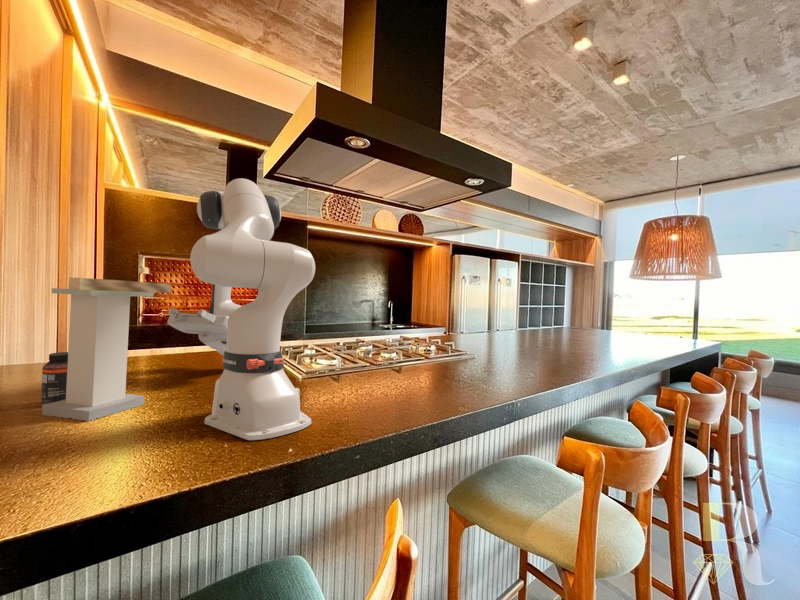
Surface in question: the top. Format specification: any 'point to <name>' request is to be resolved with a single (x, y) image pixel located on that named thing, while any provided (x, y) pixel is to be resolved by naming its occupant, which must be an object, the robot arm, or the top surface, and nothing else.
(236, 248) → the robot arm
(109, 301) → the stand
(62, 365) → the supplement bottle
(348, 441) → the top surface
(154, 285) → the baton
